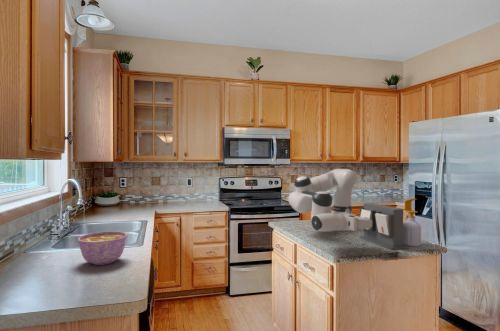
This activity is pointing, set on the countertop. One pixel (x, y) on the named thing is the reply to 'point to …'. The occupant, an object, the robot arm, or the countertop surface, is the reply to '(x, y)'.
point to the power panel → (395, 227)
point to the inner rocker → (366, 214)
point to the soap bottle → (411, 227)
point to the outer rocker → (382, 223)
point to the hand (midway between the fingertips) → (367, 219)
